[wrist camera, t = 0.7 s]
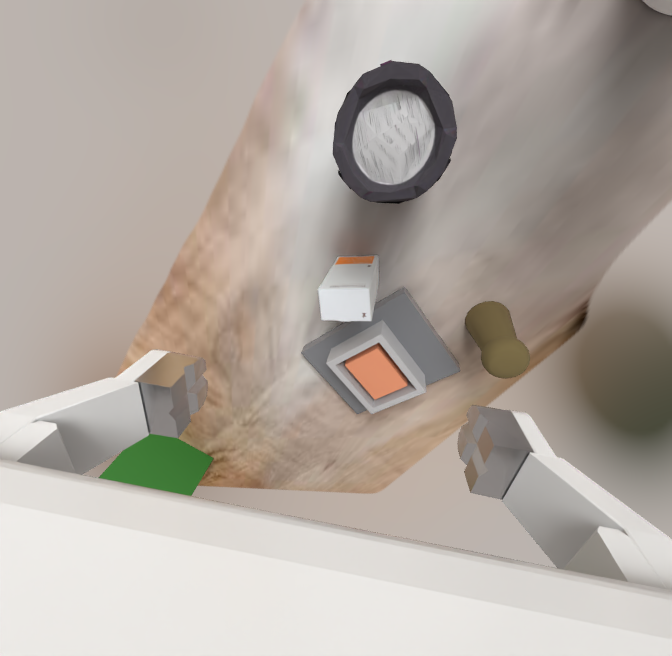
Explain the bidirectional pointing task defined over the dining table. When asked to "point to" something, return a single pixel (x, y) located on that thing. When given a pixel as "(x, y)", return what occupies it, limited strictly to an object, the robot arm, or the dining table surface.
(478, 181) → the dining table surface
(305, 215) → the dining table surface
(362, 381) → the button
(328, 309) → the skincare box
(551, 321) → the dining table surface
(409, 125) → the portable speaker
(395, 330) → the switch box
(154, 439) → the hardback book
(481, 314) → the cork
